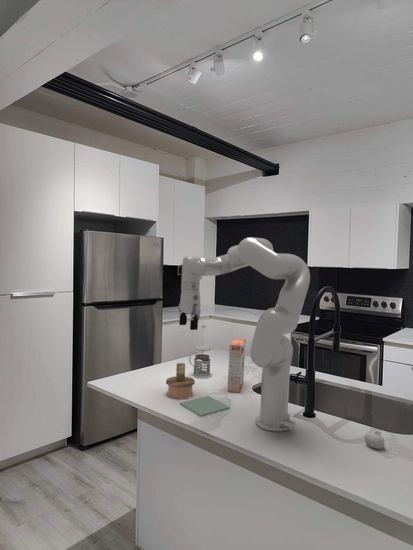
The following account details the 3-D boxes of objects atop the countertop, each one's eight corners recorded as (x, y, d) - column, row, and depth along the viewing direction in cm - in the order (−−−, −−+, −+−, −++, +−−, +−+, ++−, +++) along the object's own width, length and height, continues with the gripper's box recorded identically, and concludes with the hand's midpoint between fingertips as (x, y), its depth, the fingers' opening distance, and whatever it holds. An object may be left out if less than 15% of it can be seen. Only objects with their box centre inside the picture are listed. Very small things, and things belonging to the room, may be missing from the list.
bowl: (196, 395, 161) (196, 383, 161) (176, 400, 155) (176, 388, 155) (183, 388, 169) (183, 377, 168) (163, 392, 163) (164, 381, 163)
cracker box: (240, 393, 165) (242, 345, 164) (227, 392, 166) (228, 344, 165) (244, 383, 179) (246, 338, 178) (231, 381, 180) (233, 337, 179)
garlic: (387, 447, 121) (388, 431, 121) (381, 453, 117) (382, 436, 117) (367, 440, 125) (368, 425, 125) (361, 446, 121) (362, 430, 121)
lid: (200, 384, 160) (200, 365, 160) (175, 389, 153) (176, 370, 153) (184, 376, 170) (184, 359, 170) (160, 381, 163) (161, 362, 162)
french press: (215, 377, 185) (216, 326, 184) (192, 379, 181) (193, 327, 180) (207, 371, 194) (209, 322, 193) (185, 373, 190) (187, 323, 189)
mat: (229, 408, 148) (229, 406, 148) (200, 416, 140) (200, 415, 140) (208, 397, 159) (208, 395, 159) (179, 404, 151) (179, 402, 151)
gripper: (208, 288, 153) (206, 331, 154) (188, 284, 168) (186, 322, 169) (192, 288, 149) (189, 332, 150) (173, 284, 164) (171, 323, 165)
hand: (188, 327), depth 160 cm, fingers open, 9 cm apart
